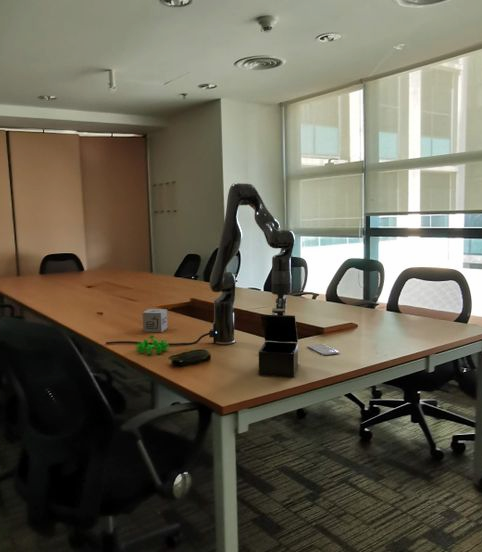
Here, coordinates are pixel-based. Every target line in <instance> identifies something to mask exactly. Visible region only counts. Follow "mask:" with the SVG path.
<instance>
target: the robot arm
mask: <svg viewBox="0 0 482 552" xmlns="http://www.w3.org/2000/svg"><path fill="white" fill-rule="evenodd" d="M240 206H249V207H250V208H252V209H253V210H254V221H255V223H256V225H257V226H258V227H259V229H260V230H261V232H262V233H263V235H264V238H265V241H266V243H267V245H268V246H269V247H270V248H272V249H276V250H277V249H278V250H279V249H280V251H279V253H277V254H274V255H273V256H272V257H271V294H272V295H274V296H275V295H276V296H277V297H276V298H275V304H276V305H275V308H286V309H287V303H288V297H286V295H291V294H292V273H291V259H292V256H293V251H294V247H295V243H296V238H295V234H294V232H293V231H292V230H290V229H280V222H279V221H278V220H277V219H276V218H275V216H274V215H273V213H271V212H270V210H269V208H268V207H267V206H266V204H265V202H264V200H263V198H262V197H261V195H260V193H259V192H258V189H257V188H256V187H255V186H254V184H251V183H243V182H235V183H234V182H233V183H232V184H231V185H230V187H229V190H228V193H227V200H226V208H225V215H224V221H223V226H222V229H221V233H220V239H219V245H218V250H217V254H216V258H215V261H214V263H213V264H214V265H213V267H212V271H211V274H210V277H209V288H210V290H211V292H213V293H221V295H219V297H217V298H216V299H214V300H213V323H212V328H211V329H209V330H208V331H209V332H207V333H204V334H202V335H201V336H199V337H198V338H197V340H195V341H192V342H176V343H175V342H173V343H172V342H171V343H170V342H167V343H168V345H169V346H190V345H196V344H197V343H199V342H200V341H201V340H202V338H204V337H206V336H207V337H208V336H209V338H212V339H213V344H216V345H220V346H221V345H222V346H224V345H227V346H228V345H232V344H234V343H235V301H236V276H235V274H234V273H233V272H232V271H229V270H227V267H228V265H229V264H230V262H231V261H232V260H233V259H234V257H236V255H237V254H238V252H239V250H240V248H241V243H242V240H243V231H242V227H241V224H240V222H239V219H238V213H239V207H240ZM226 270H227V271H226ZM276 315H283V314H282V313H276ZM138 342H139V341H135V340H134V341H133V340H132V341H131V340H119V341H118V340H117V341H115V340H114V341H105V345H114V344H135V345H136V344H137V345H138V344H139V343H138ZM142 342H143V343H144V341H142ZM148 342H149V345H152V341H151V342H150V341H148ZM158 344H159V342H158ZM165 344H166V343H165ZM159 345H160V344H159ZM168 345H167V346H168Z"/></svg>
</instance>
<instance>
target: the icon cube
mask: <svg viewBox="0 0 482 552" xmlns="http://www.w3.org/2000/svg"><path fill="white" fill-rule="evenodd" d="M167 329H168V309H163V308H162V309H161V308H159V309H158V308H148V309H146V310H145V311H143V312H142V332H143V333H144V332H145V333H163V332H164V331H165V330H167Z"/></svg>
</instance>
